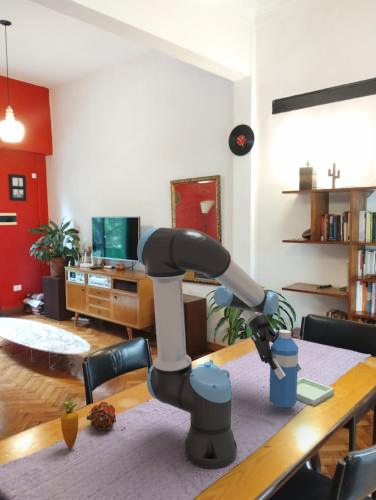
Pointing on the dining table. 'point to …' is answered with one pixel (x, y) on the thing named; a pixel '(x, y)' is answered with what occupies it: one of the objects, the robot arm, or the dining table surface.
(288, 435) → the dining table surface
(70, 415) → the carrot
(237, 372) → the dining table surface
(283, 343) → the water bottle
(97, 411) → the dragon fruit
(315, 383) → the tray
